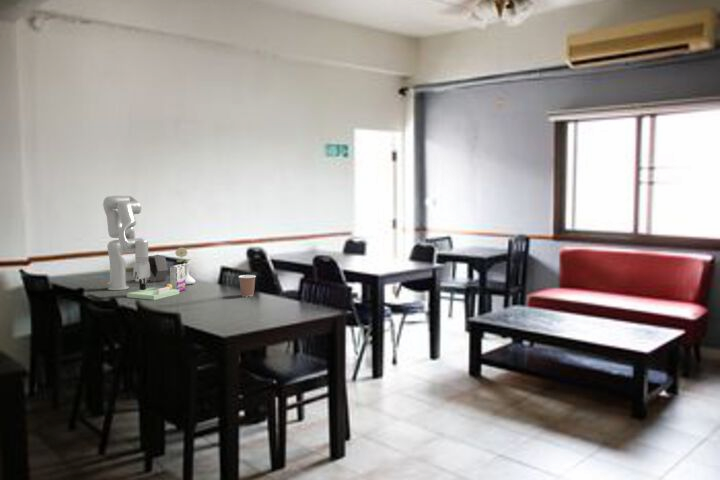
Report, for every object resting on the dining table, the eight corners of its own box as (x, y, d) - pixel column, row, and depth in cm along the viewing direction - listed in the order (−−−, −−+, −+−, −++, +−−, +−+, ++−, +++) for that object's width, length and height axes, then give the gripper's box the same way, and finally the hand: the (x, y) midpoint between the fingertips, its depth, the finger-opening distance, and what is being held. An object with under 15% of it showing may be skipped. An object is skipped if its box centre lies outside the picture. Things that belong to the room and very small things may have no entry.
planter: (142, 272, 437) (149, 249, 428) (153, 271, 443) (159, 249, 433) (152, 288, 428) (159, 265, 419) (162, 286, 434) (170, 263, 424)
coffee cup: (259, 295, 377) (259, 275, 376) (248, 297, 368) (248, 277, 367) (246, 293, 382) (245, 274, 380) (235, 296, 373) (234, 276, 371)
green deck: (126, 297, 369) (126, 288, 369) (153, 291, 389) (152, 282, 389) (154, 299, 361) (153, 290, 360) (179, 293, 381) (179, 284, 380)
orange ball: (164, 290, 377) (164, 284, 377) (168, 289, 381) (168, 283, 380) (169, 291, 375) (169, 284, 375) (174, 290, 379) (173, 283, 379)
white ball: (153, 296, 370) (152, 290, 369) (157, 295, 373) (156, 289, 373) (158, 296, 368) (157, 289, 368) (162, 295, 372) (161, 288, 371)
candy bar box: (178, 289, 396) (178, 264, 394) (185, 289, 395) (185, 264, 393) (170, 292, 385) (169, 266, 384) (177, 292, 384) (176, 266, 383)
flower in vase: (197, 282, 423) (196, 246, 421) (193, 285, 412) (192, 248, 410) (178, 282, 423) (177, 246, 421) (173, 285, 412) (172, 248, 409)
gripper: (146, 258, 382) (146, 287, 384) (128, 261, 369) (128, 291, 370) (155, 258, 379) (156, 288, 381) (137, 261, 366) (138, 292, 367)
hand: (142, 289), depth 376 cm, fingers closed
